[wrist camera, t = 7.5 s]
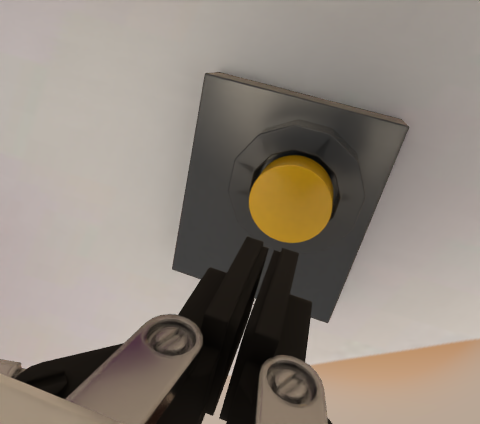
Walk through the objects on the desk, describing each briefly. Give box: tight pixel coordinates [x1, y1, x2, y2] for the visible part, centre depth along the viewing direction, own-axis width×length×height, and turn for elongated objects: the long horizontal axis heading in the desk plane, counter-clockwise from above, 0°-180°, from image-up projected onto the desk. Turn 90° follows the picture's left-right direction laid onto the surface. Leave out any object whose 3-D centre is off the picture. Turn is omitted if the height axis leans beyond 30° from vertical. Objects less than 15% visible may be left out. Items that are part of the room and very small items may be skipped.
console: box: [172, 72, 409, 323], centre depth 22 cm, size 13×11×4 cm
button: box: [249, 155, 333, 243], centre depth 19 cm, size 4×4×2 cm
